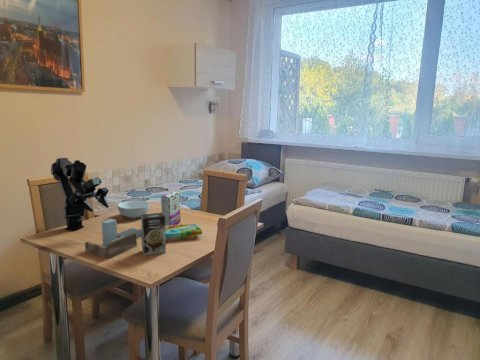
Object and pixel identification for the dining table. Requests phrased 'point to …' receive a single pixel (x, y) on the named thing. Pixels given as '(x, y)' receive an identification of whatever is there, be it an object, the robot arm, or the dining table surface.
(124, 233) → the rubber mat
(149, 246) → the coffee box
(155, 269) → the dining table surface
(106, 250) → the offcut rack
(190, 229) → the puzzle game
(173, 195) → the candy bar box
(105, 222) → the tall block
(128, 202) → the cereal bowl
